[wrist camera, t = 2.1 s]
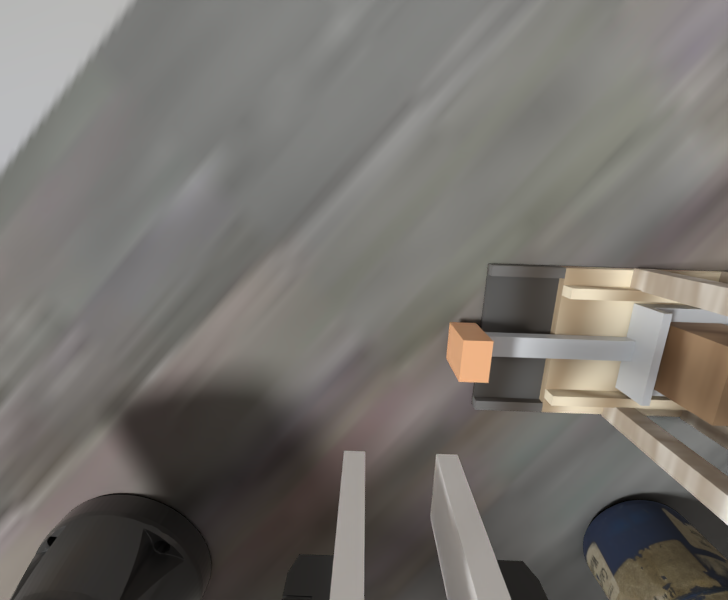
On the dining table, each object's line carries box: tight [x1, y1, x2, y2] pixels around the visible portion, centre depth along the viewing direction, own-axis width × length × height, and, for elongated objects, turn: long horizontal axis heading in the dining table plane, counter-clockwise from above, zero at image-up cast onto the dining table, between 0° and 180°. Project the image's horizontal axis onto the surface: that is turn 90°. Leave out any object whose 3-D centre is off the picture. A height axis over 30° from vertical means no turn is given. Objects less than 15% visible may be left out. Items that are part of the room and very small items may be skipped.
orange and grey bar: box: [446, 303, 728, 406], centre depth 26 cm, size 21×7×4 cm, turn 88°
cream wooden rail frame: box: [472, 264, 728, 525], centre depth 23 cm, size 26×12×13 cm, turn 88°
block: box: [654, 322, 728, 426], centre depth 24 cm, size 4×5×6 cm
